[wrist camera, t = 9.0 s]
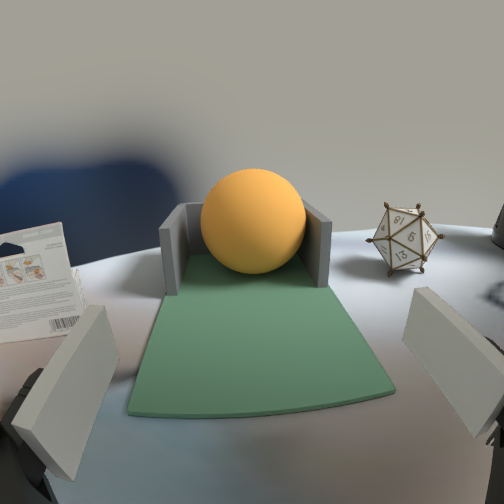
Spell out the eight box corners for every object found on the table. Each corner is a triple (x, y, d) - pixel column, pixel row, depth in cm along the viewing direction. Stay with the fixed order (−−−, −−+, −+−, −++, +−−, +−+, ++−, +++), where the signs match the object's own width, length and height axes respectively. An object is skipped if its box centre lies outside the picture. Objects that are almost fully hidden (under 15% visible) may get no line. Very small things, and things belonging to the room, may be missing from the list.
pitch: (301, 248, 41) (302, 197, 39) (394, 393, 16) (424, 294, 13) (182, 254, 40) (177, 202, 38) (128, 415, 15) (91, 315, 12)
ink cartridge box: (-3, 333, 20) (-34, 237, 17) (92, 319, 24) (68, 215, 21) (-10, 347, 18) (-45, 245, 15) (90, 333, 22) (63, 221, 19)
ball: (311, 288, 27) (273, 280, 38) (333, 176, 28) (291, 197, 39) (192, 260, 25) (187, 260, 35) (224, 139, 26) (209, 172, 36)
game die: (381, 298, 35) (340, 229, 34) (413, 260, 38) (378, 198, 37) (437, 291, 26) (391, 205, 26) (464, 247, 29) (426, 173, 29)
